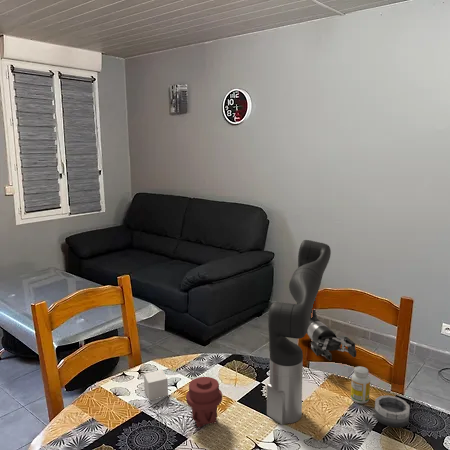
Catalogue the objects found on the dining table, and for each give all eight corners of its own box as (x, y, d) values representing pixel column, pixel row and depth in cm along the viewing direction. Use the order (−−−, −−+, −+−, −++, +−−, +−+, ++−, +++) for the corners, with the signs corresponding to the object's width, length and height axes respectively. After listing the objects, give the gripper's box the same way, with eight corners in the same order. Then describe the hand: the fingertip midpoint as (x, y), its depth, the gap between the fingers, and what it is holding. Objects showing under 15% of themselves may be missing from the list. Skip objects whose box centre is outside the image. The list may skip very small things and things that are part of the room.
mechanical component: (193, 436, 112) (182, 415, 121) (228, 426, 116) (214, 406, 125) (192, 394, 110) (181, 376, 119) (227, 385, 114) (213, 368, 123)
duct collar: (397, 432, 113) (398, 418, 112) (368, 416, 120) (368, 403, 119) (414, 419, 118) (415, 406, 118) (385, 404, 125) (386, 391, 125)
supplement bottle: (354, 404, 125) (356, 374, 124) (348, 394, 131) (349, 365, 129) (372, 403, 126) (373, 373, 124) (364, 393, 131) (366, 364, 130)
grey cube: (149, 401, 129) (148, 383, 128) (144, 391, 134) (143, 373, 133) (168, 396, 131) (167, 378, 130) (162, 386, 137) (162, 369, 136)
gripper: (303, 327, 151) (323, 348, 136) (339, 323, 154) (363, 343, 139) (303, 347, 153) (322, 369, 137) (339, 342, 156) (362, 364, 140)
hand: (343, 356), depth 138 cm, fingers open, 8 cm apart
